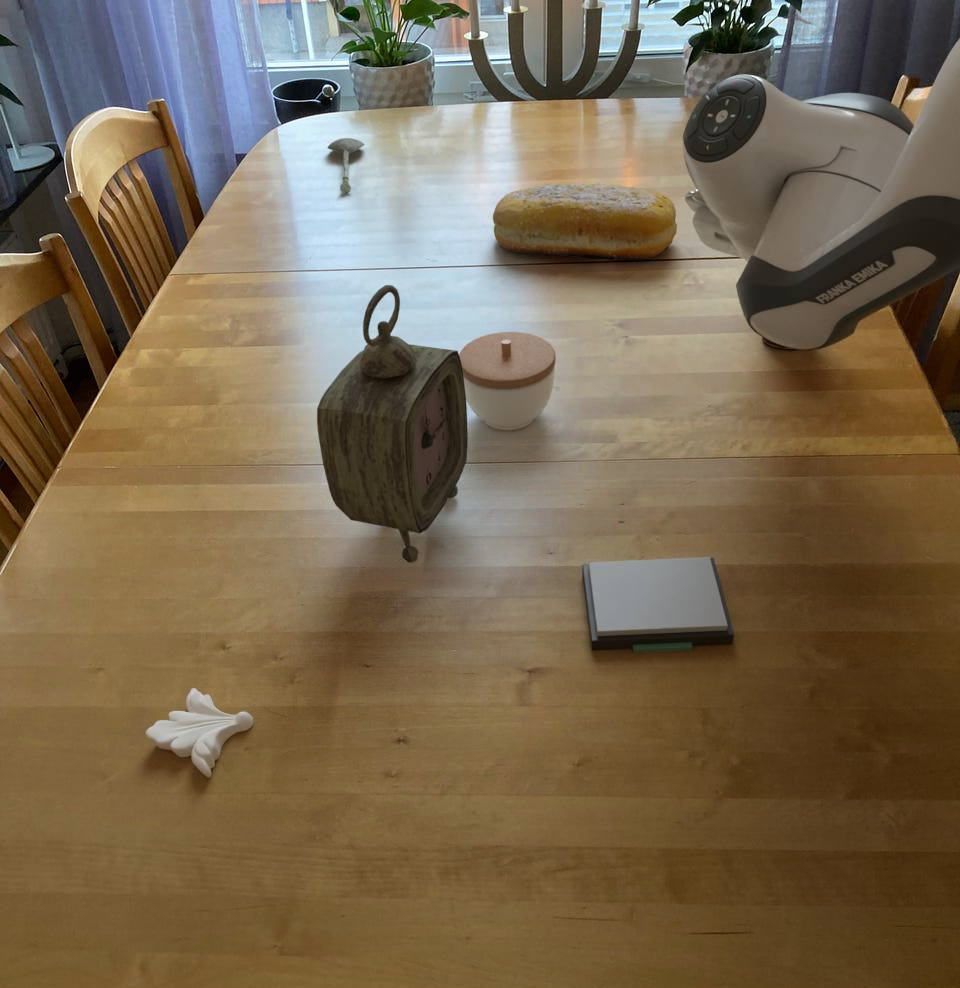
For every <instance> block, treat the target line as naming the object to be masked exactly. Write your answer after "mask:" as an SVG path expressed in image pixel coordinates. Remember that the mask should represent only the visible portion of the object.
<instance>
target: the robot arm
mask: <svg viewBox="0 0 960 988" xmlns="http://www.w3.org/2000/svg"><path fill="white" fill-rule="evenodd" d="M682 154H683V160H684V164H685V167H686V170H687V173H688V175H689V177H690V179H691V181H692V183H693V185H694V187H695V189H694V191H691V190H690V191H688V192H687V193H686V194H685V198H684V201H685V203H686V204H687V207H688V208H689V209H690V210H691V211H693V212H694V214H693V217H692V224H693V227H694V230H695V232H696V234H697V236H698V238H699V239H700V241H701V243H702V244H703V245H705V246H706V247H708V248H709V249H711V250H713V251H716V252H719V253H724V254H727V255H730V256H734V257H737V258H740V259H744V260H745V261H746V262H747V263H746V265H745V266H744V269H743V271H742V272H741V274H740V276H739V278H738V280H737V281H736V284H735V288H736V292H737V297H738V302H739V305H740V308H741V311H742V312H743V316H744V318H745V321H746V322H747V325H748V326H749V327H750V329H751V330H752V331H753V332H754V333H756V334H757V335H759V336H760V337H761V338H762V337H763V338H765V339H767V340H769V341H771V342H774V343H776V344H779V345H782V346H785V347H789V348H793V349H792V350H798V351H799V350H800V351H817V350H821V349H822V350H823V349H825V348H827V347H830V346H833V345H835V344H838V343H839V342H841V341H843V340H846V339H847V338H849V337H850V336H852V335H853V334H855V331H856V329H857V326H858V324H859V323H860V322H861V321H863V320H864V319H865V318H868V317H870V316H871V315H873V314H875V313H877V312H879V311H881V310H882V309H885V308H887V307H888V306H891V305H892V304H894V303H896V302H898V301H900V300H902V299H904V298H906V297H908V296H910V295H911V294H914V293H916V292H917V291H919V290H921V289H924V288H925V287H927V286H929V285H931V284H932V283H935V282H936V281H938V280H940V279H942V278H943V277H945V276H947V275H949V274H951V273H952V272H954V271H955V270H957V269H958V268H960V38H959V39H958V40H957V41H956V42H955V44H954V46H953V47H952V48H951V50H950V52H949V53H948V55H947V57H946V58H945V59H944V62H943V63H942V66H941V68H940V70H939V71H938V73H937V75H936V78H935V80H934V81H933V84H932V86H931V88H930V90H929V92H928V95H927V96H926V98H925V101H924V103H923V105H922V107H921V109H920V111H919V114H918V116H917V118H916V120H915V123H913V122H912V121H911V120H910V118H909V117H908V116H907V115H906V113H905V112H904V111H902V110H901V108H900V107H898V106H896V105H895V104H894V103H892V102H891V101H889V100H887V99H885V98H882V97H879V96H875V95H870V94H865V93H858V92H839V93H838V92H837V93H830V94H829V93H828V94H825V95H820V96H816V97H811V98H807V99H804V100H799V99H796V98H794V97H791V96H790V95H787V94H786V93H784V92H783V91H782V90H780V89H779V88H777V86H775V85H773V84H772V83H771V82H769V81H768V80H766V79H765V78H762V77H760V76H758V75H753V74H743V73H742V74H737V75H733V76H730V77H728V78H725V79H723V80H721V81H720V82H718V83H717V84H715V85H714V86H713V87H712V88H710V89H709V90H708V91H707V92H705V94H704V95H703V96H702V97H701V98H700V99H699V101H698V102H697V103H696V105H695V107H694V108H693V110H692V112H691V114H690V116H689V118H688V120H687V121H686V125H685V127H684V131H683V134H682Z"/></svg>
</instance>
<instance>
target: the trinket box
mask: <svg viewBox="0 0 960 988" xmlns="http://www.w3.org/2000/svg"><path fill="white" fill-rule="evenodd" d="M458 354H459V357H460V360H461V365H462V370H463V377H464V385H465V394H466V404H467V405H468V406H469V408H470V409H471V411H472V412H473V413H474V414H475V415H476V416H477V417H478V418H479V419H480V420H481V421H483V422H484V423H485V424H486V425H487V426H488V427H490V428H492V429H494V430H499V431H506V432H507V431H517V430H522V429H524V428H526V427H528V426H529V425H531V424H532V423H533V422H534V421H535V419H536V418H537V417H539V416H540V415H541V413H542V412H543V411H544V410H545V409H546V407H547V406H548V403H549V401H550V399H551V396H552V393H553V388H554V383H555V366H556V362H557V361H556V351H555V349H554V347H553V346H552V344H550V343H549V342H548V341H547V340H546V339H544V338H543V337H540V336H538V335H535V334H532V333H527V332H521V331H500V332H494V333H489V334H486V335H483V336H480V337H477V338H475V339H473V340H472V341H470V342H468V343H467V344H466V345H464V347H463V348H462V349H461V350H460V352H459V353H458Z"/></svg>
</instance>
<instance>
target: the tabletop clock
mask: <svg viewBox="0 0 960 988" xmlns="http://www.w3.org/2000/svg"><path fill="white" fill-rule="evenodd" d="M389 293H391V294H392V296H393V298H394V308H393V310H392V314H391V316H390V318H389V320H388V321H386V320H382V321H379V322H378V324H377V333H378V334H377V335H376V337H374V338H371V337H370V333H369V332H370V331H369V330H370V324H371V320H372V317H373V316H372V315H373V313H374V312H375V309H376V307H377V306H378V304H379V303H380V301H381V300H382V299H383V298H384V297H385V296H386V295H387V294H389ZM400 308H401V297H400V293H399V291H398V289H397V288H396V287H395V286H394V285H392V284H386V285H383V286H382V287H381V288H379V289H378V290H377V291H376V292H375V293H374V294H373V295H372V297H371V299H370V300H369V301H368V304H367V306H366V310H365V312H364V317H363V321H362V324H363V325H362V336H363V338H364V341H365V343H366V345H365V346H364V348H363V350H361V351H360V352H358V353H357V354H356V355H355V356H354V357H353V358H352V359H351V360H350V361H349V362H348V363H347V364H346V365H345V366H344V367H343V368H342V369H341V370H340V372H339V373H338V374H337V376H336V377H335V379H334V380H333V381H332V382H331V383H330V385H329V386H328V387H327V388H326V390H325V392H324V393H323V394H322V396H321V398H320V400H319V402H318V405H317V408H316V427H317V433H318V434H317V435H318V441H319V447H320V453H321V460H322V465H323V469H324V470H323V471H324V473H325V477H326V482H327V486H328V490H329V493H330V496H331V498H332V501H333V503H334V504H335V507H336V508H338V510H340V511H341V512H342V513H343V514H344V515H345V516H346V517H347V518H348V519H349V520H350V521H352V522H353V521H354V522H359V523H364V524H370V525H374V526H379V527H385V528H390V529H396V530H398V532H399V535H400V537H401V539H402V541H403V544H404V546H405V547H403V549H402V551H401V557H402V559H403V560H404V561H405V562H407V563H414V562H416V561H417V560H418V558H419V551H418V548H416V547H415V546H414V545H411V539H410V534H409V533H410V532H411V533H415V534H422V533H423V532H425V531H427V530H428V529H429V527H431V525H432V524H433V523H434V522H435V520H436V518H437V517H438V515H439V514H440V512H441V511H442V510H443V508H444V507H445V505H447V502H448V501H449V499H454V498H455V497H457V495H458V492H459V489H458V486H457V484H458V482H459V481H460V479H461V476H462V474H463V472H464V469H465V466H466V464H467V461H468V460H467V459H468V448H469V447H468V443H469V442H468V440H469V437H468V436H469V435H468V432H469V431H468V429H469V428H468V407H467V405H468V404H467V401H466V394H465V385H464V377H463V370H462V365H461V360H460V357H459V354H460V353H459V351H458V350H453V349H449V348H448V349H447V348H439V347H432V346H424V345H417V344H409V343H408V342H407V341H405V340H403V338H401V337H399V336H396V335H391V334H392V332H393V330H394V328H395V327H396V324H397V322H398V319H399V315H400Z"/></svg>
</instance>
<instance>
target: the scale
mask: <svg viewBox="0 0 960 988" xmlns="http://www.w3.org/2000/svg"><path fill="white" fill-rule="evenodd" d="M581 570H582V572H581V574H582V575H581V582H582V584H583V591H584V601H585V609H586V616H587V617H586V618H587V625H588V632H589V633H588V634H589V641H590V649H591V651H615V650H616V651H617V650H618V651H619V650H632V653H633V654H643V653H666V652H686V651H687V652H690V651H693V647H703V646H705V647H706V646H726V645H729V646H730V645H733V643H734V637H735V634H734V629H733V625H732V623H731V619H730V618H731V617H730V614H729V611H728V607H727V603H726V600H725V595H724V592H723V588H722V585H721V579H720V577H719V572H718V570H717V565H716V562H715V559H714V557H710V556H697V557H696V556H695V557H677V558H674V557H673V558H655V559H654V558H653V559H634V560H633V559H632V560H612V561H595V562H594V561H591V562H588V563H582V566H581Z"/></svg>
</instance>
